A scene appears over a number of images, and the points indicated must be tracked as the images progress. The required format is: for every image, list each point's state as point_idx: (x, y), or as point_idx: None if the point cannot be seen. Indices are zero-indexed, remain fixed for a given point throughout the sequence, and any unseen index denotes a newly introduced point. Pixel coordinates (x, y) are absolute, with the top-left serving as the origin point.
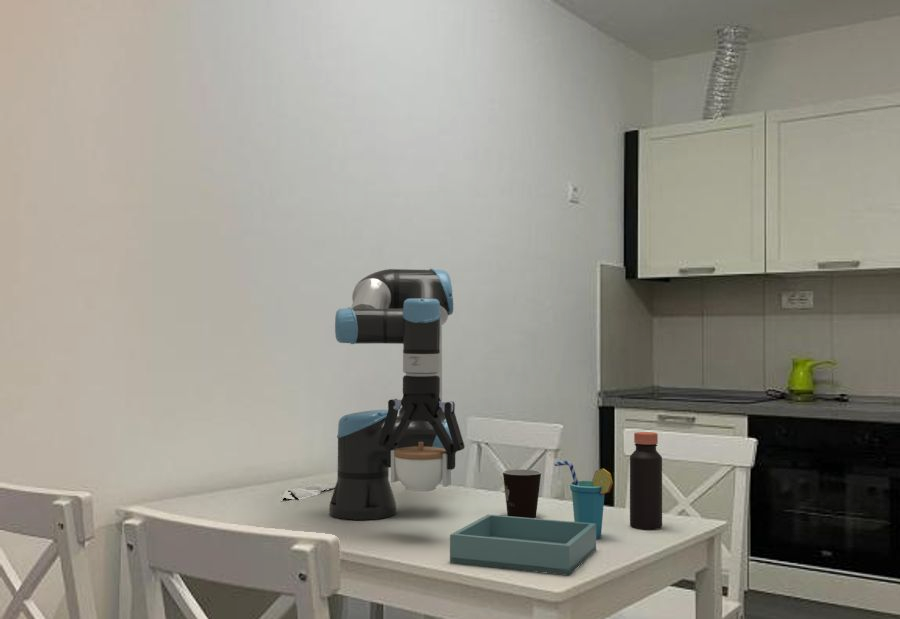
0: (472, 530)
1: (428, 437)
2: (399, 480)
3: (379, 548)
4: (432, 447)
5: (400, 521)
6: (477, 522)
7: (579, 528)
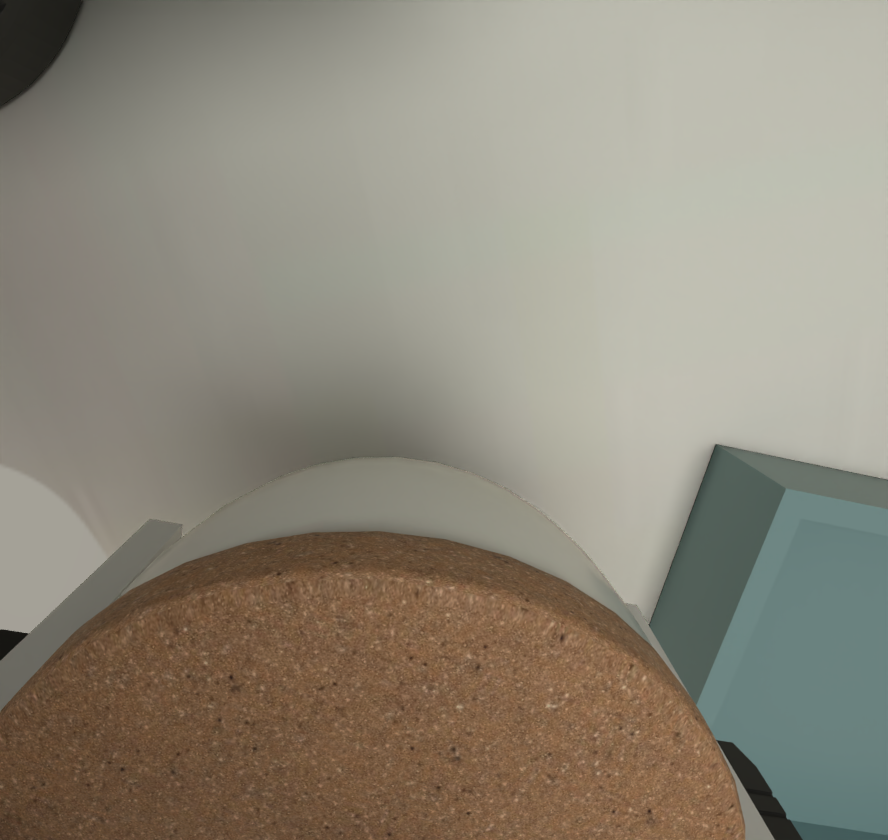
0: None
1: None
2: (181, 528)
3: None
4: (495, 727)
5: (199, 93)
6: (728, 680)
7: None
